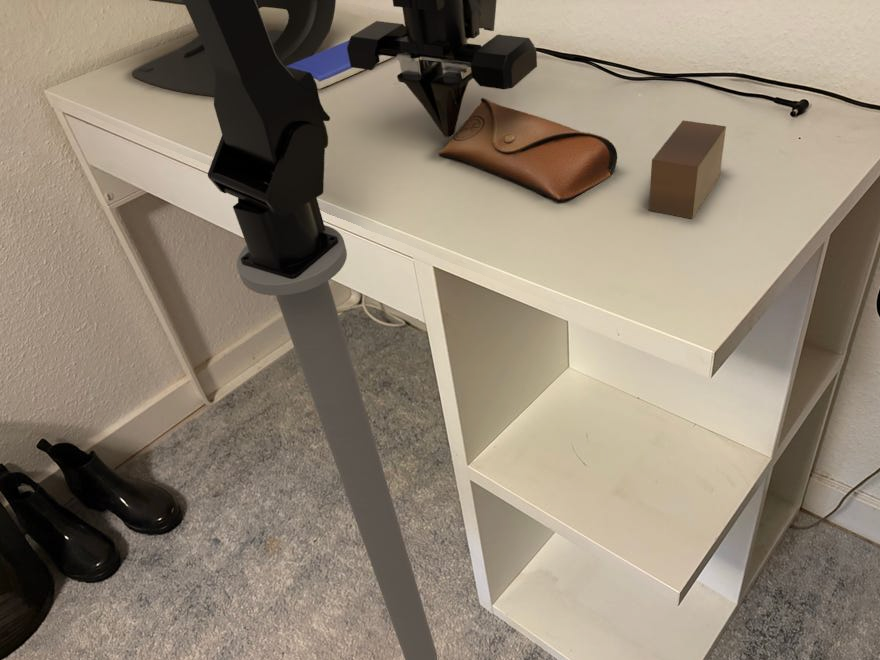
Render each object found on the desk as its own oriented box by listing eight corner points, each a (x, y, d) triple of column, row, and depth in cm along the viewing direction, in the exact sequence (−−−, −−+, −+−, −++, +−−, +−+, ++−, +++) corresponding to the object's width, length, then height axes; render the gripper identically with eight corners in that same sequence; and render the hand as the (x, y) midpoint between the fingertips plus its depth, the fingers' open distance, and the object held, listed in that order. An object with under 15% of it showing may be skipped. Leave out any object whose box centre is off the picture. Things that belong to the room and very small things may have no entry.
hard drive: (355, 35, 105) (283, 65, 99) (392, 46, 100) (318, 78, 94) (358, 47, 106) (286, 77, 100) (394, 57, 101) (321, 90, 95)
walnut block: (692, 219, 65) (697, 166, 61) (648, 210, 66) (651, 159, 63) (719, 176, 70) (726, 125, 66) (678, 169, 71) (682, 119, 68)
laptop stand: (354, 40, 108) (329, -80, 97) (233, 105, 94) (189, -27, 84) (235, 23, 120) (202, -86, 109) (113, 78, 106) (61, -41, 96)
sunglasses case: (430, 152, 78) (446, 87, 76) (474, 160, 83) (490, 100, 81) (563, 203, 68) (587, 130, 66) (603, 209, 73) (626, 141, 71)
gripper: (560, -46, 68) (562, 115, 79) (394, -56, 76) (417, 92, 87) (503, -7, 62) (514, 164, 72) (328, -22, 69) (361, 134, 80)
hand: (449, 135), depth 78 cm, fingers closed
